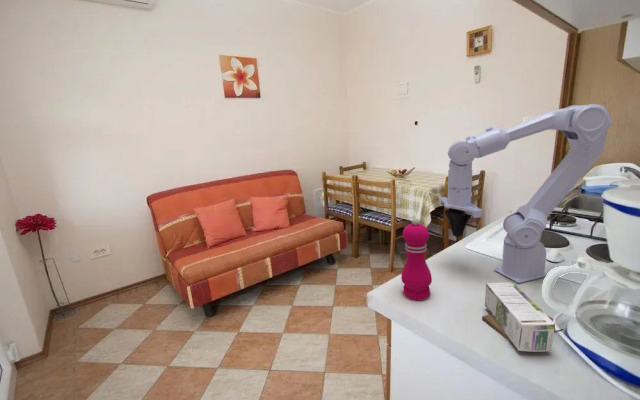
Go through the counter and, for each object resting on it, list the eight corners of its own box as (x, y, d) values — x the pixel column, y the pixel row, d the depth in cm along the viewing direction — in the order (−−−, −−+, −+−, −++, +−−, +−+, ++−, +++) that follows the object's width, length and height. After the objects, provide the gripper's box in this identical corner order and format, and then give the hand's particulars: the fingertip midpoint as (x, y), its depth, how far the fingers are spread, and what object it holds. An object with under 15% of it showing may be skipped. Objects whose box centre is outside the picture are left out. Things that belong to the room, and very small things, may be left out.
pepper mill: (428, 304, 72) (428, 224, 67) (398, 298, 75) (396, 221, 70) (434, 289, 78) (434, 214, 73) (405, 284, 81) (403, 212, 76)
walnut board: (527, 306, 68) (527, 303, 67) (563, 329, 60) (564, 325, 60) (482, 319, 65) (482, 316, 65) (514, 344, 57) (514, 340, 57)
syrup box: (510, 304, 68) (554, 352, 54) (483, 305, 68) (519, 352, 54) (512, 281, 66) (558, 324, 52) (484, 282, 67) (522, 325, 53)
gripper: (429, 184, 86) (429, 229, 89) (466, 194, 72) (463, 247, 76) (451, 181, 88) (449, 225, 91) (490, 191, 74) (487, 242, 77)
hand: (457, 235), depth 84 cm, fingers closed
